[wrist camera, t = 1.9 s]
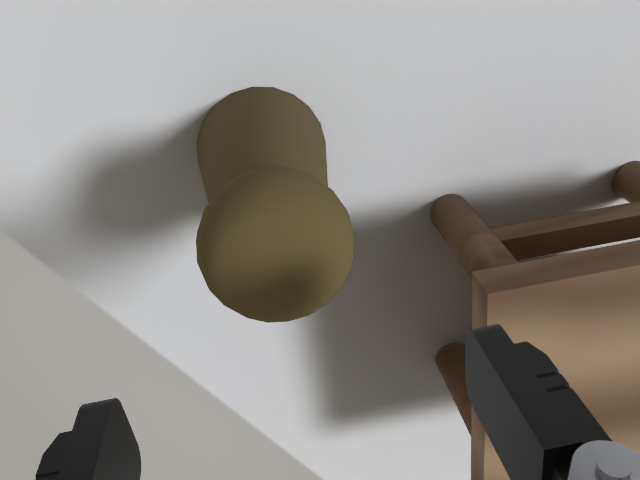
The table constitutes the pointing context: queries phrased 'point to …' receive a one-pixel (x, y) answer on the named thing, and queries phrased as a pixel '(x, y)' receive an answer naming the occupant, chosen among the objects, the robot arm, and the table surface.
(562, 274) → the stool
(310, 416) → the table surface
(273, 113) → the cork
